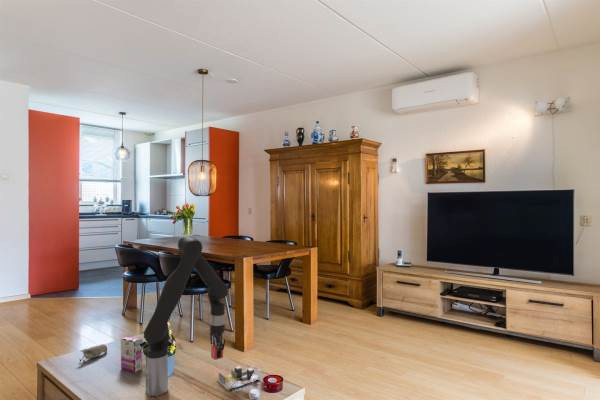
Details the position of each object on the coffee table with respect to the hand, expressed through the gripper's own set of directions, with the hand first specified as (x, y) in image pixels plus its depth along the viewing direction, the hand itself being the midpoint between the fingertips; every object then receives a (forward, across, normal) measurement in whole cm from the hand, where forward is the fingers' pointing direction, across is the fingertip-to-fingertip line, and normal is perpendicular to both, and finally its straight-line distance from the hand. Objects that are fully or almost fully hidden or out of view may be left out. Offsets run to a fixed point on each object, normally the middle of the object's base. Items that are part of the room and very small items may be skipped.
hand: (216, 355), depth 193 cm
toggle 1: (+8, -11, -6) cm, 15 cm away
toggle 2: (+7, -17, -10) cm, 21 cm away
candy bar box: (+11, +33, +33) cm, 48 cm away
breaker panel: (+9, -14, -6) cm, 17 cm away
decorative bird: (+12, +61, +47) cm, 78 cm away
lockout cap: (+1, 0, 0) cm, 1 cm away
